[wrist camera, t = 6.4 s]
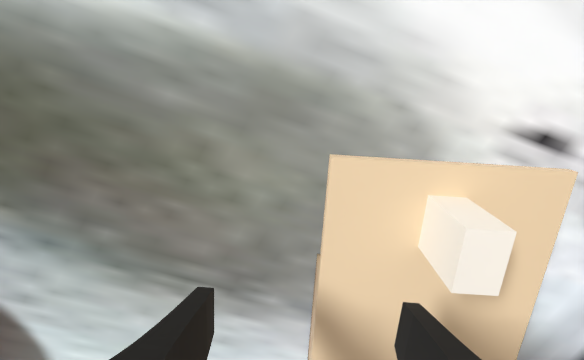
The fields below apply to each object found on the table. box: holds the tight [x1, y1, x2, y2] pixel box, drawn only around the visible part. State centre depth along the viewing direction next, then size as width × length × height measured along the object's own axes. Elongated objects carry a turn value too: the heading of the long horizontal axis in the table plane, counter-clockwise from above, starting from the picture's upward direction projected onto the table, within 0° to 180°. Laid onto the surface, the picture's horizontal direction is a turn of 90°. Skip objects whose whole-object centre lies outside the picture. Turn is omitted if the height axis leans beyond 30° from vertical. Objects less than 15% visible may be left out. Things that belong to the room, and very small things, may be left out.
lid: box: [311, 154, 578, 360], centre depth 16 cm, size 14×12×5 cm
